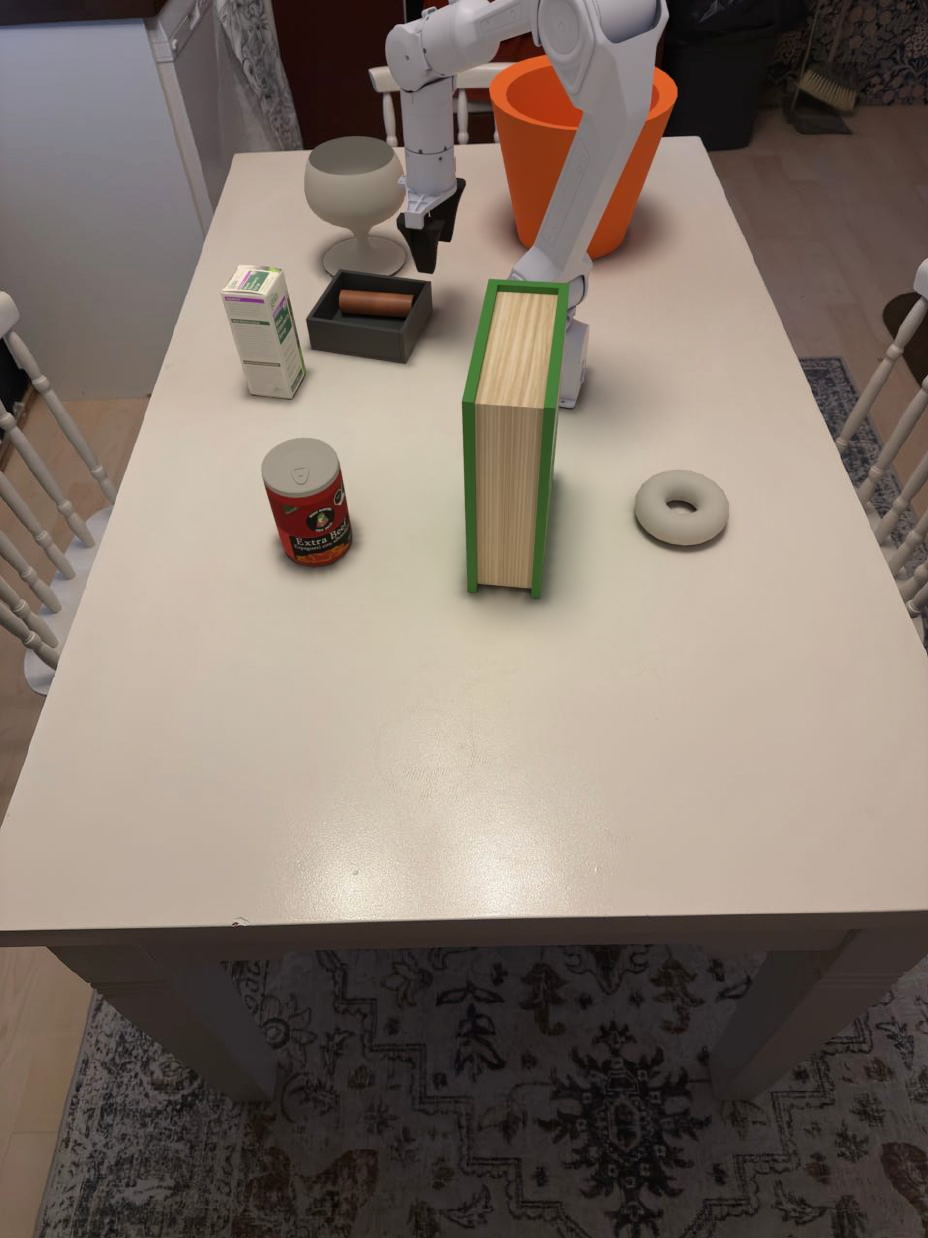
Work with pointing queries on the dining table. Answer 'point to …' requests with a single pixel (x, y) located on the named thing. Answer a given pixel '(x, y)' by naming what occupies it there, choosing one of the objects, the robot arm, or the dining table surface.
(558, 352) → the hardback book
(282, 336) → the syrup box
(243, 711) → the dining table surface
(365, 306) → the wooden dowel
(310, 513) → the canned food
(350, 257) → the chalice
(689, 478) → the donut
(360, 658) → the dining table surface
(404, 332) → the bin
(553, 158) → the flowerpot
